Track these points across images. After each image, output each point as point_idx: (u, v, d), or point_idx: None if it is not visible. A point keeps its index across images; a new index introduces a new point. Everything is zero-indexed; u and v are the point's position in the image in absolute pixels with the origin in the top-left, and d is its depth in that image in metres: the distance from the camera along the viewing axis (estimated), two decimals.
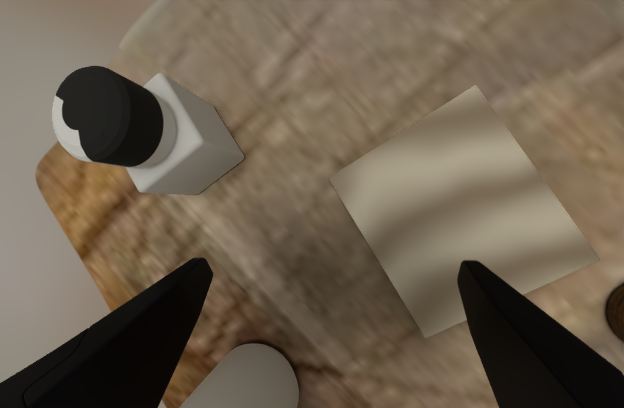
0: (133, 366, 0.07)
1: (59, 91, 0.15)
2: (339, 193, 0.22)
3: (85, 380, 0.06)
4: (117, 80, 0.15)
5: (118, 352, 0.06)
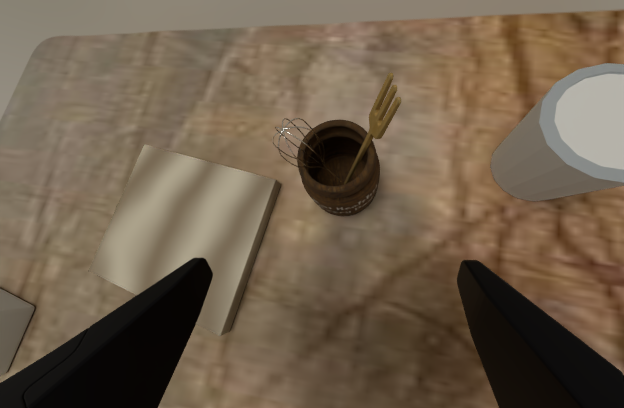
0: (133, 366, 0.07)
1: None
2: (100, 275, 0.24)
3: (85, 380, 0.06)
4: None
5: (118, 352, 0.06)
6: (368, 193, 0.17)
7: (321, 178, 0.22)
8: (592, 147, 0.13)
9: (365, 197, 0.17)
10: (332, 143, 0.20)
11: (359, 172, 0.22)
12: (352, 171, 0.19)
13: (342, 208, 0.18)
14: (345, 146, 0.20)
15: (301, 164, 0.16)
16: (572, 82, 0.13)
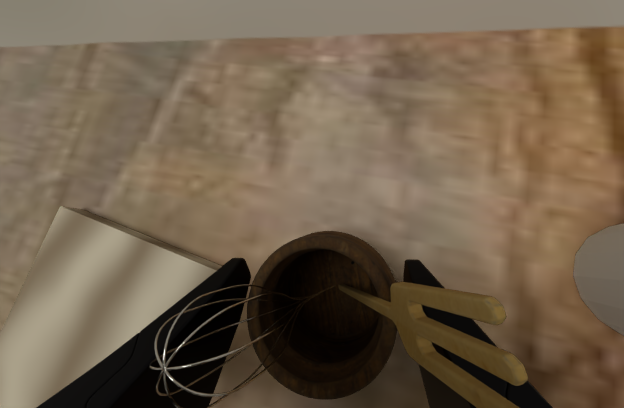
0: (185, 372, 0.06)
1: None
2: None
3: (144, 389, 0.05)
4: None
5: (173, 358, 0.06)
6: None
7: (304, 274, 0.15)
8: None
9: None
10: None
11: (362, 269, 0.14)
12: (351, 295, 0.11)
13: None
14: None
15: (253, 324, 0.08)
16: None
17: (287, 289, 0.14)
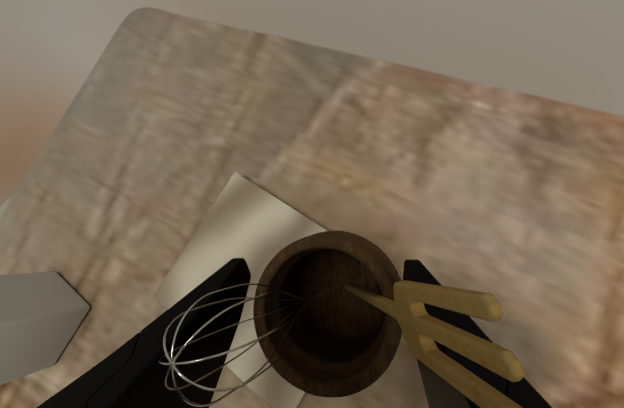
0: (186, 372, 0.06)
1: None
2: (166, 305, 0.22)
3: (145, 389, 0.05)
4: None
5: (173, 358, 0.06)
6: None
7: (310, 273, 0.15)
8: None
9: None
10: None
11: (368, 268, 0.14)
12: (357, 294, 0.11)
13: None
14: None
15: (259, 323, 0.08)
16: None
17: (294, 288, 0.14)
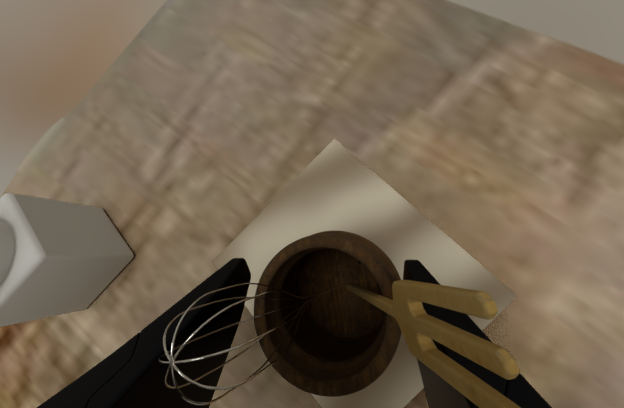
0: (186, 373, 0.06)
1: None
2: None
3: (145, 389, 0.05)
4: None
5: None
6: None
7: (311, 273, 0.15)
8: None
9: None
10: None
11: None
12: (357, 294, 0.11)
13: None
14: None
15: (259, 322, 0.08)
16: None
17: (295, 288, 0.14)
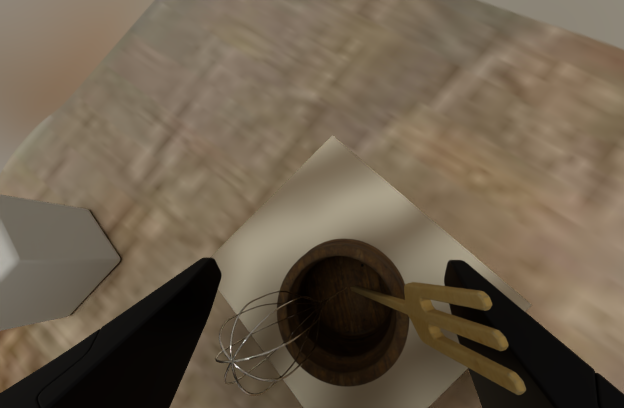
0: (145, 367, 0.06)
1: None
2: None
3: (99, 382, 0.05)
4: None
5: (131, 353, 0.06)
6: None
7: (318, 278, 0.16)
8: None
9: None
10: None
11: (371, 270, 0.15)
12: (364, 295, 0.12)
13: None
14: None
15: (283, 325, 0.09)
16: None
17: (304, 292, 0.15)
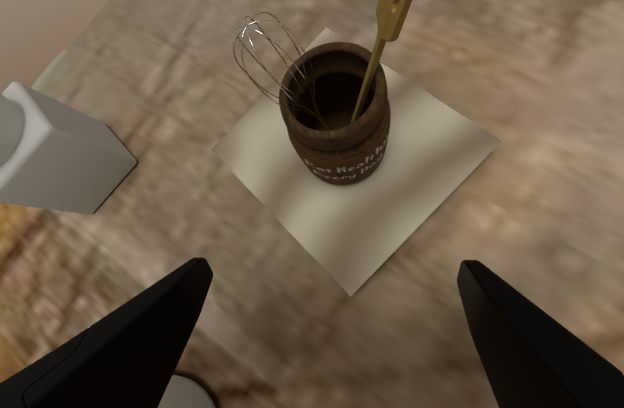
0: (133, 366, 0.07)
1: None
2: (224, 161, 0.20)
3: (85, 380, 0.06)
4: None
5: (118, 352, 0.06)
6: (378, 144, 0.13)
7: None
8: None
9: (374, 150, 0.13)
10: (325, 91, 0.15)
11: None
12: (354, 122, 0.14)
13: (344, 168, 0.13)
14: (342, 95, 0.16)
15: (284, 106, 0.11)
16: None
17: None
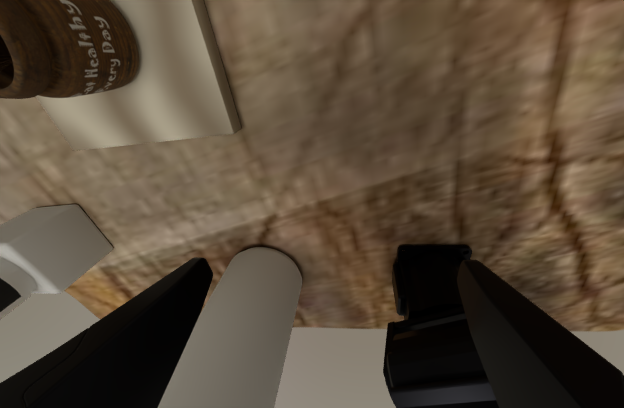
0: (133, 366, 0.07)
1: None
2: (87, 147, 0.21)
3: (85, 380, 0.06)
4: None
5: (118, 352, 0.06)
6: (64, 23, 0.12)
7: None
8: None
9: (73, 31, 0.12)
10: None
11: None
12: None
13: (90, 70, 0.14)
14: None
15: None
16: None
17: None
